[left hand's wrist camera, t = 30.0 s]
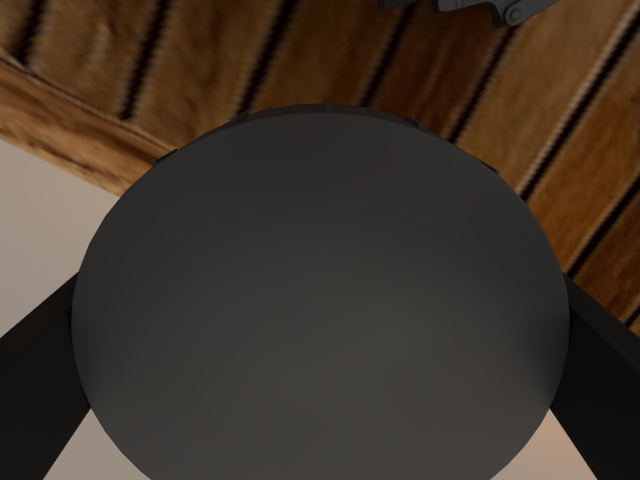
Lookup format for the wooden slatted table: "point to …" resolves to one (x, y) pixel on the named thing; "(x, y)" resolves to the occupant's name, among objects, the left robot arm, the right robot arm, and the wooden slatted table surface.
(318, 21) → the wooden slatted table surface
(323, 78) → the wooden slatted table surface
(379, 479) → the lid
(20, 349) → the left robot arm
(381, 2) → the right robot arm
